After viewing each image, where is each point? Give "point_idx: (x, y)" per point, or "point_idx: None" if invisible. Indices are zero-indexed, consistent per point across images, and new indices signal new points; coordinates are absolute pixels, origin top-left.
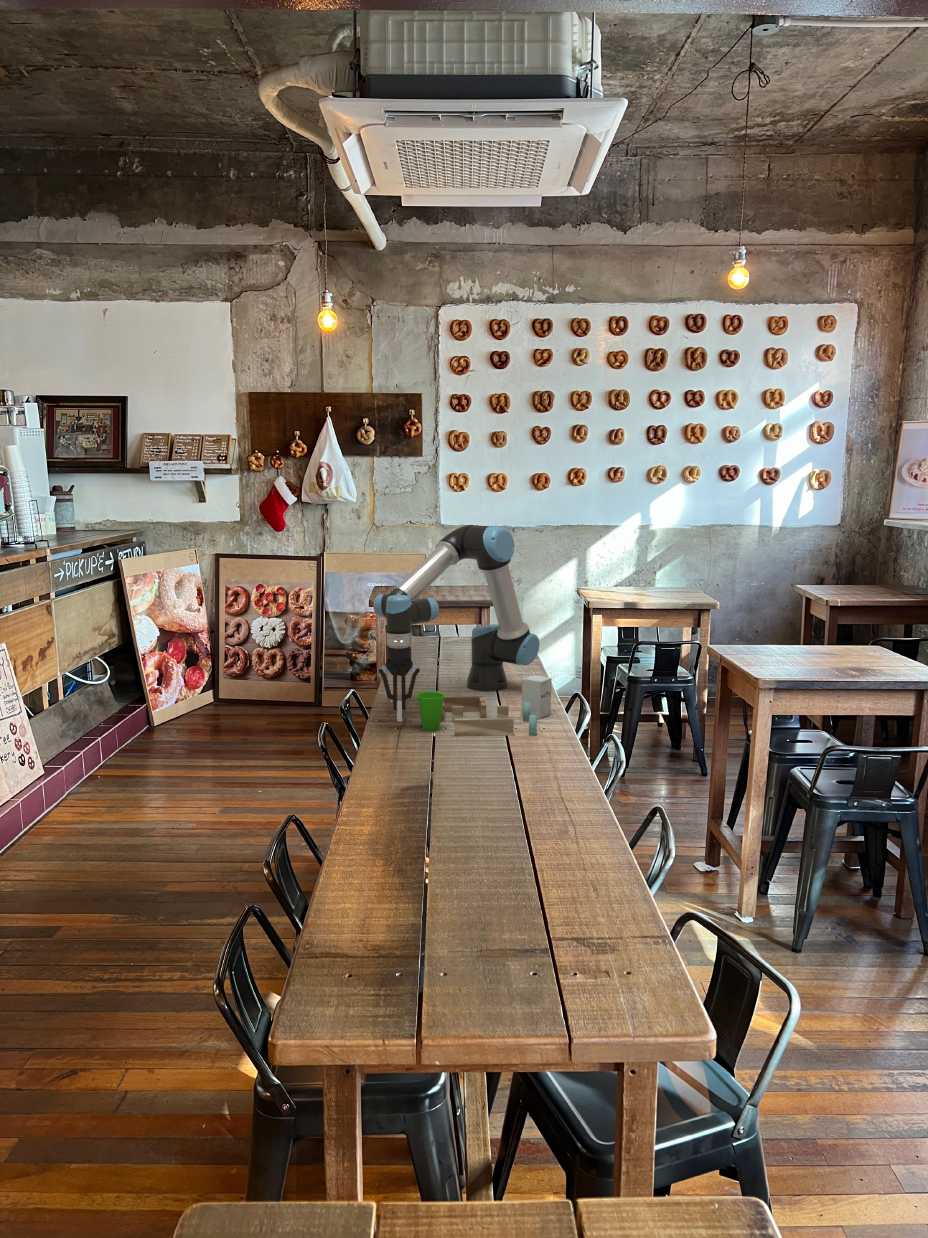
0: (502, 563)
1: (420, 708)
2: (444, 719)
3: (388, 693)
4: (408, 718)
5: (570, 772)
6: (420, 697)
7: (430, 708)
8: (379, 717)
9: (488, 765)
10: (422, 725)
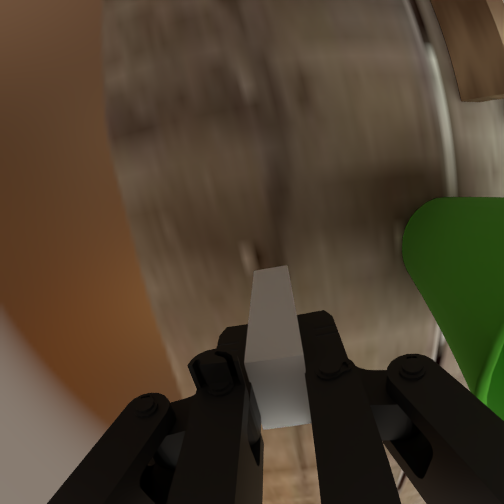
0: None
1: (449, 345)
2: (484, 100)
3: (164, 492)
4: (279, 41)
5: None
6: None
7: (500, 366)
8: (104, 65)
9: None
10: (408, 270)
